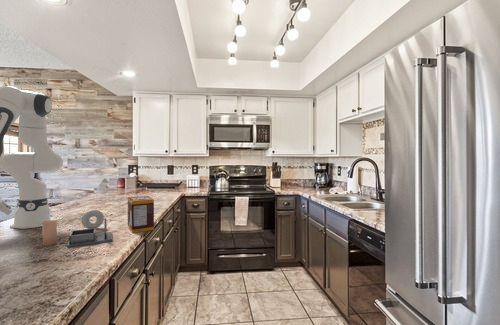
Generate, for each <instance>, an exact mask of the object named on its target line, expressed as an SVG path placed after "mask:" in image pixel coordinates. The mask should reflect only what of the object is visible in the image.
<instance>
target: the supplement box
mask: <svg viewBox="0 0 500 325" xmlns="http://www.w3.org/2000/svg"><path fill="white" fill-rule="evenodd" d="M127 227H128V228H129V230H130V232H131V234H134V233H142V232H149V231H154V230H155V199H154V198H151V197H150V196H149V195H140V196H128V197H127Z"/></svg>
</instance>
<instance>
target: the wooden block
mask: <svg viewBox="0 0 500 325" xmlns="http://www.w3.org/2000/svg"><path fill="white" fill-rule="evenodd" d="M57 222H58V220H57V219H54V220H48V221H43V222H42V226H41V228H42V229H41V231H42V232H41V234H42V235H41V237H42V246H43V247H49V246H53V244H54V245H56V244H57V243H58V230H57V228H58V223H57ZM48 245H49V246H48Z"/></svg>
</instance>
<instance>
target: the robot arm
mask: <svg viewBox="0 0 500 325" xmlns="http://www.w3.org/2000/svg"><path fill="white" fill-rule="evenodd" d="M52 107H53V102H52V99H51V98H50V97H49V96H48V95H47V94H43V93H41V92H40V93H38V92H34V91H29V90H21V89H19V88H17V87H15V86H12V85H7V86H6V85H5V86H1V87H0V169H1V170H2V171H3V172H4V173H6V174H8V175H10V176H11V177H13V179H14V180H15V182H16V183H17V186H18V195H19V196H18V197H19V198H18V199H19V200H18V202H17V204H18V205H17V206H18V208H17V209H16V210H15V211H14V217H13V218H14V220H13V224H11V225H10V226H9V228H11V229H34V228H40V227H41V228H42V222H43V221H48V220H55V217H54V216H53V215H52V214H51V208H50V207H49V206H48V202H49V201H48V197H47V184H46V183H45V182H44V181H43V180H41V179H39V178H38V179H37V178H34V177H33V176H32V174H36V173H37V174H41V173H42V174H43V173H45V174H47V173H52V172H58V171H60V170H61V169H62V167H63V164H64V160H63V158H62V157H61V155H60V154H58V153H57V152H55V151H54V150H53V149H52V148H51V146H50V145H49V143H48V136H47V117H46V116H48V115H49V114H50V112H51V111H52V109H53V108H52ZM17 119H18V139H19V141H20V143H21V144H23V145H25V146H27V147H30V148H32V149H33V150H34V151H33V152H31V151H29V152H27V151H23V152H21V151H15V152H9V153H4V154H3V152H4V137H5V135H6V133H7V131H8V129H9V128H10V126H12V125H13V124H14V123H15V122H16V121H17ZM2 154H3V155H2ZM0 212H2V213H4V214H5V215H10V214H11V213H12V212H13V210H12V207H11V206H10V205H8V204H7V202H5V201H3V199H2V196H1V195H0Z"/></svg>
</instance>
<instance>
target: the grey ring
mask: <svg viewBox="0 0 500 325" xmlns="http://www.w3.org/2000/svg"><path fill="white" fill-rule="evenodd" d="M92 217H95V218H96V220H95V221H93V222H91V221H90V219H91V218H92ZM104 219H105V215H104V213H103V211H101V210H98V209H89V210H87V211H86V212H85V213H84V214H82V217H81V225H82V226H83V227H84V229H92V228H96V229H97V228H99V227H100V226H102V225H103V224H104Z"/></svg>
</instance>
